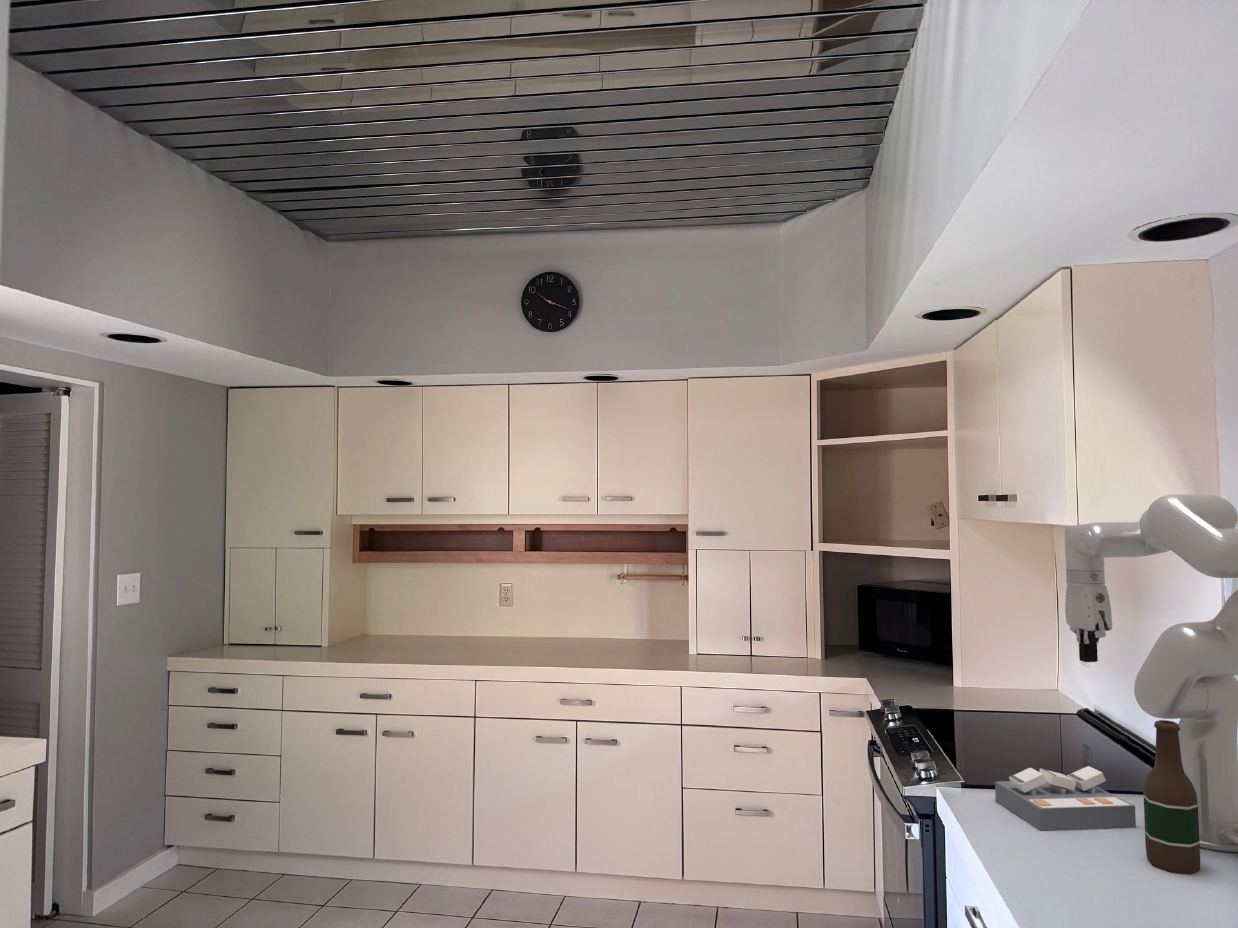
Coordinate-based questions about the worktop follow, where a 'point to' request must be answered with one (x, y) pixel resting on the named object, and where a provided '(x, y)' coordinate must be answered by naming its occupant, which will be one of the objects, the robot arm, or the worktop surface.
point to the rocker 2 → (1087, 778)
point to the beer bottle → (1171, 807)
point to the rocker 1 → (1027, 780)
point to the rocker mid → (1058, 779)
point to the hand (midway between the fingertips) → (1088, 661)
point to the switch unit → (1066, 807)
